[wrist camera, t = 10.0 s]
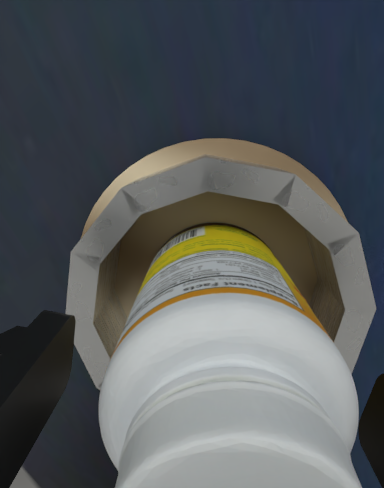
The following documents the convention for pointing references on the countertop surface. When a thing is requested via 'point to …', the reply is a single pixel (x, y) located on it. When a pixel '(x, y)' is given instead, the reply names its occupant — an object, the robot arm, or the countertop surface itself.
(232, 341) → the supplement bottle
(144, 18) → the countertop surface
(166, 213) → the beige round plate
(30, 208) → the countertop surface
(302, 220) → the white beige low ring
